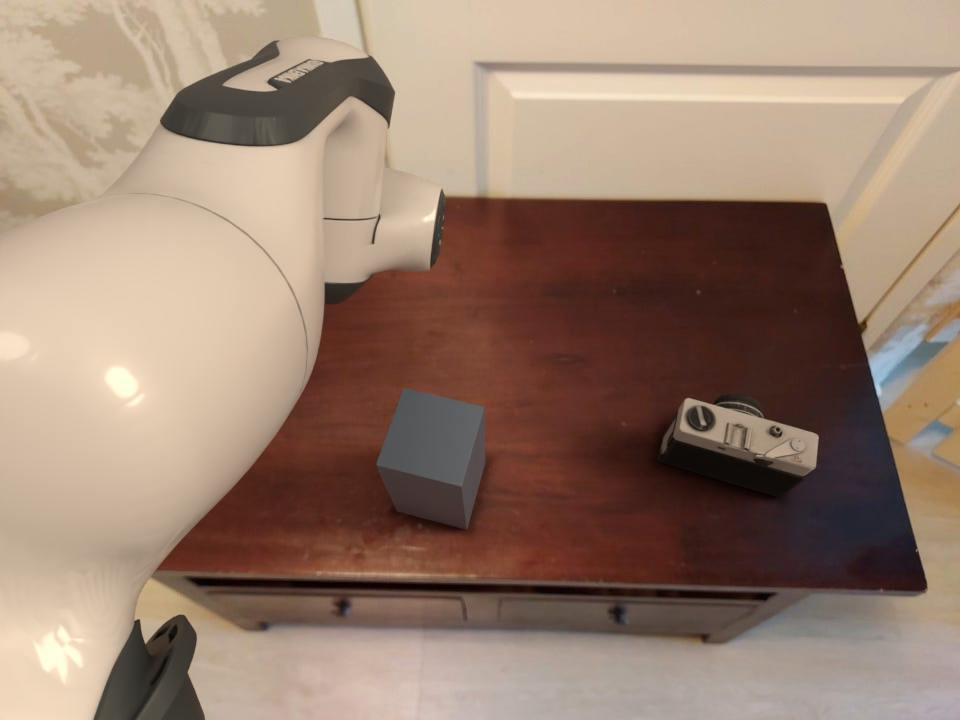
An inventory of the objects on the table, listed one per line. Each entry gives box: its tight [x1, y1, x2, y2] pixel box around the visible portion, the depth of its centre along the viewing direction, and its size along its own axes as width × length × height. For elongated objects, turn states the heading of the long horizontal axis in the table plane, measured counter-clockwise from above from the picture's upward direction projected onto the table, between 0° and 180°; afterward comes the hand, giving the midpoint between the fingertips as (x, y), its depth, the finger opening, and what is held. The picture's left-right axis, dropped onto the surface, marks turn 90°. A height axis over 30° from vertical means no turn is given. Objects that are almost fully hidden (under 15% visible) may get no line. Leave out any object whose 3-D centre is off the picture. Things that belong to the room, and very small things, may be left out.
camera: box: [657, 393, 820, 499], centre depth 70 cm, size 14×9×10 cm, turn 64°
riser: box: [375, 387, 487, 531], centre depth 66 cm, size 8×8×15 cm
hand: (133, 169), depth 60 cm, fingers open, 8 cm apart
